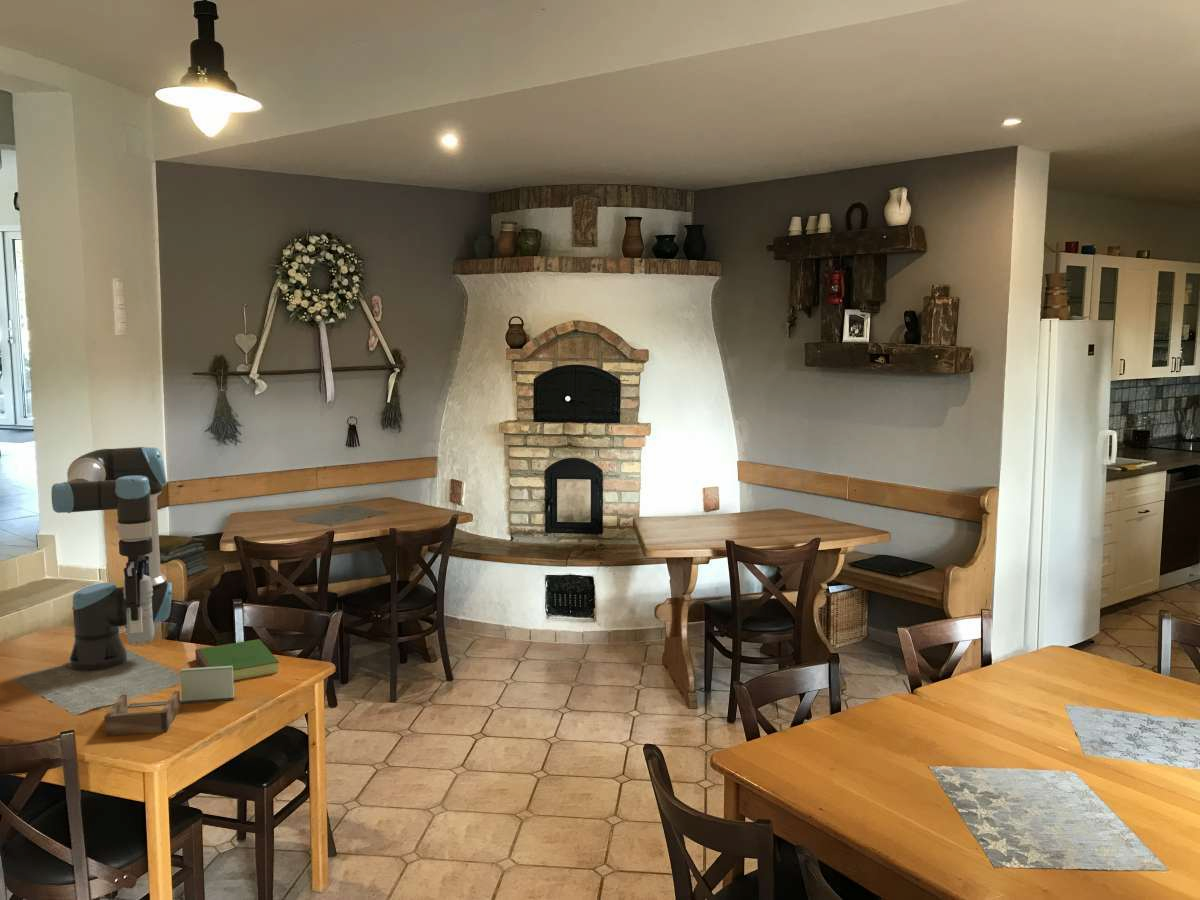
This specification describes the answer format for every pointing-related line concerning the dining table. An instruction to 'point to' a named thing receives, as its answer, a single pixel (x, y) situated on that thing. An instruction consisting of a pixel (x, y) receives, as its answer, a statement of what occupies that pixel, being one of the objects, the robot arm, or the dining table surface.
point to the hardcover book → (240, 658)
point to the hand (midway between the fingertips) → (140, 627)
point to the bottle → (143, 614)
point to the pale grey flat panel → (207, 683)
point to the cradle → (144, 716)
